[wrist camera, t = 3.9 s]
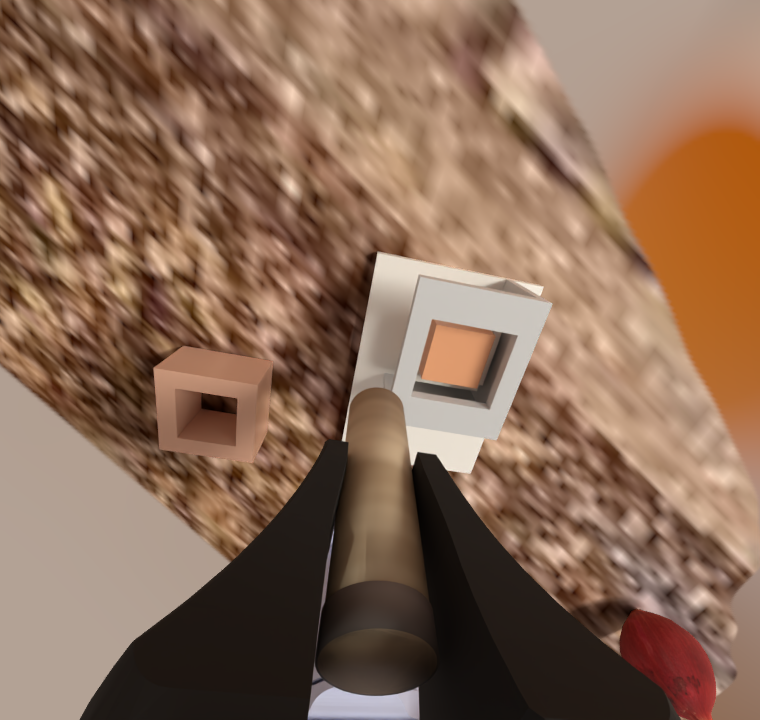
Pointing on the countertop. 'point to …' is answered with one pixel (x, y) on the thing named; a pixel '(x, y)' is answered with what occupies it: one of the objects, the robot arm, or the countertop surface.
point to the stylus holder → (206, 427)
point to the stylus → (377, 563)
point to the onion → (670, 662)
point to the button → (455, 353)
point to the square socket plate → (407, 341)
